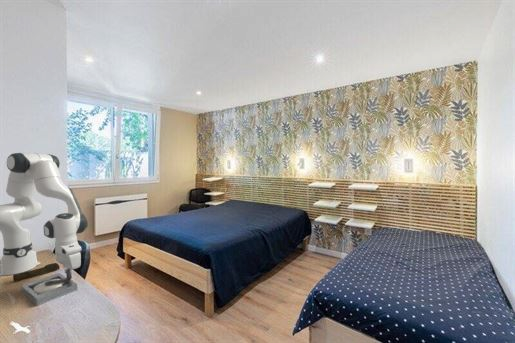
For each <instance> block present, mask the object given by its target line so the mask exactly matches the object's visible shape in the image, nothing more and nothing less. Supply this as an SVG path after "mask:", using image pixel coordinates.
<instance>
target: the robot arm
mask: <svg viewBox="0 0 515 343" xmlns="http://www.w3.org/2000/svg"><path fill="white" fill-rule="evenodd" d="M60 162H61V161H60V159H59V158H58V156H56V155H53V154H49V153H47V154H45V153H41V152H40V153H39V152H33V153H31V152H29V153H27V152H23V153H22V152H15V153H11V154H9V156H8V157H7V158H6V168H7V169H8V170H9V174H8V178H7V184H6V189H5V192H6V194H7V195H8V196H9V197H12V198H13V199H14V201H13V202H12V203H6V204H5V203H4V204H0V233H1V235H2V239H3V249H2V257H1V259H0V276H10V275H11V276H12V275H14V274H20V273H23V272H27V271H31V270H34V268H36V266H39V265H41V263H42V262H41V261H39V260H37V251H35V250H33V243H32V242H31V230H30V229H28V228H27V227H23V226H21V223H20V222H21V221H26V220H29V219H33V218H36V217H37V216H40V215H41V213H42V212H43V206H42V204H41V203H40V202H39V201H37V200H36V198H35V197H34V188H35V190H36V192H37V193H38V194H40V195H42V196H44V197H47V198H51V199H57V200H61V201H63V202H64V203H66V205H67V208H68V210H69V212H70V213H69V212H68V213H67V212H64V213H60V214H57V215H55V217H54V218H53V219H50V220H47V221H46V222H45V223H44V225H43V236H44V237H46V238H49V239H55V240H54V250H55V252H54V253H55V254H54V256H55V257H54V258H55V261H56V263H58V264H61V265H62V267H63V269H64V274H66V270H68V269H71V271H72V270H76V269H78V268H80V267H81V265H82V264H81V263H82V260H81V259H82V255H81V251H82V247H81V245H80V244H79V242H78V236H77V235H78V234H82V233H83V232H84V231H86V230H87V228H88V225H89V223H88V219H87V217H86V216H85V214H84V213H83V211H82V209H81V207H80V204H79V202H78V200H77V197H76V195H75V193H74V192H73V189H72V188H70V187H68V186H67V185H65V183H64V182H63V179H62V176H61V172H60V170H59V169H60V164H61V163H60Z"/></svg>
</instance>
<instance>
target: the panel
mask: <svg viewBox="0 0 515 343" xmlns="http://www.w3.org/2000/svg"><path fill="white" fill-rule="evenodd" d="M65 278H67V276H66V275H63V274H62V273H59V272H57V273H55V274H52V275H48V276H46V277H43V278H39V279H36V280H33V281H30V282H26V283H24V284H20V292H22V294H23V295H25V296H26V297H27V299H29V300H31V302H33V304H35V305H36V306H37V307H38V306H40V305H41V306H42V305H43V304H46V303H48V302H50V301H53V300H55V299H58V298H61V297H63V296H66V295H68V294H71V293H73V292H76V291H78V283H76V282H74V280H73V279H71V280H70V281H68V282H64V286H61V287H58V288H55V289H53V290H50V291H47V292H44V293H42V294H39V295H38V294H37V293H35V292H34V287H35V286H37V285H38V284H40V283H43V282H45V281H49V280H54V279H65Z"/></svg>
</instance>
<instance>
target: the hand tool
mask: <svg viewBox="0 0 515 343" xmlns="http://www.w3.org/2000/svg"><path fill="white" fill-rule="evenodd" d="M60 267H61V266H60V265H59V263H58V262H54V263H49V264H46V265H44V266H43V267H39V268H36V269H31V270H28V271H25V272H22V273H18V274H12V275H13V277H12V280H13V283H15V282H20V281H21V280H24V279H25V280H26V279H28V278H33V277H35V276H38V275H42V274H51V273H53V272H55V271H58V270H60V269H61V268H60Z"/></svg>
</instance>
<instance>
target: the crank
mask: <svg viewBox="0 0 515 343" xmlns="http://www.w3.org/2000/svg"><path fill="white" fill-rule="evenodd" d="M65 274H66V275H65V277H66V278H65V279H54V280H49V281H45V282H43V283H40V284H38V285H37V286H35V287H34V292H35V293H37V294H38V295H39V294H42V293H44V292H47V291H50V290H53V289H55V288H58V287H61V286H64V282H68V281H70V280H72V278H73V277H72V276H73V275H72V274H73V273H72V269H68V270H66V273H65Z"/></svg>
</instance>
